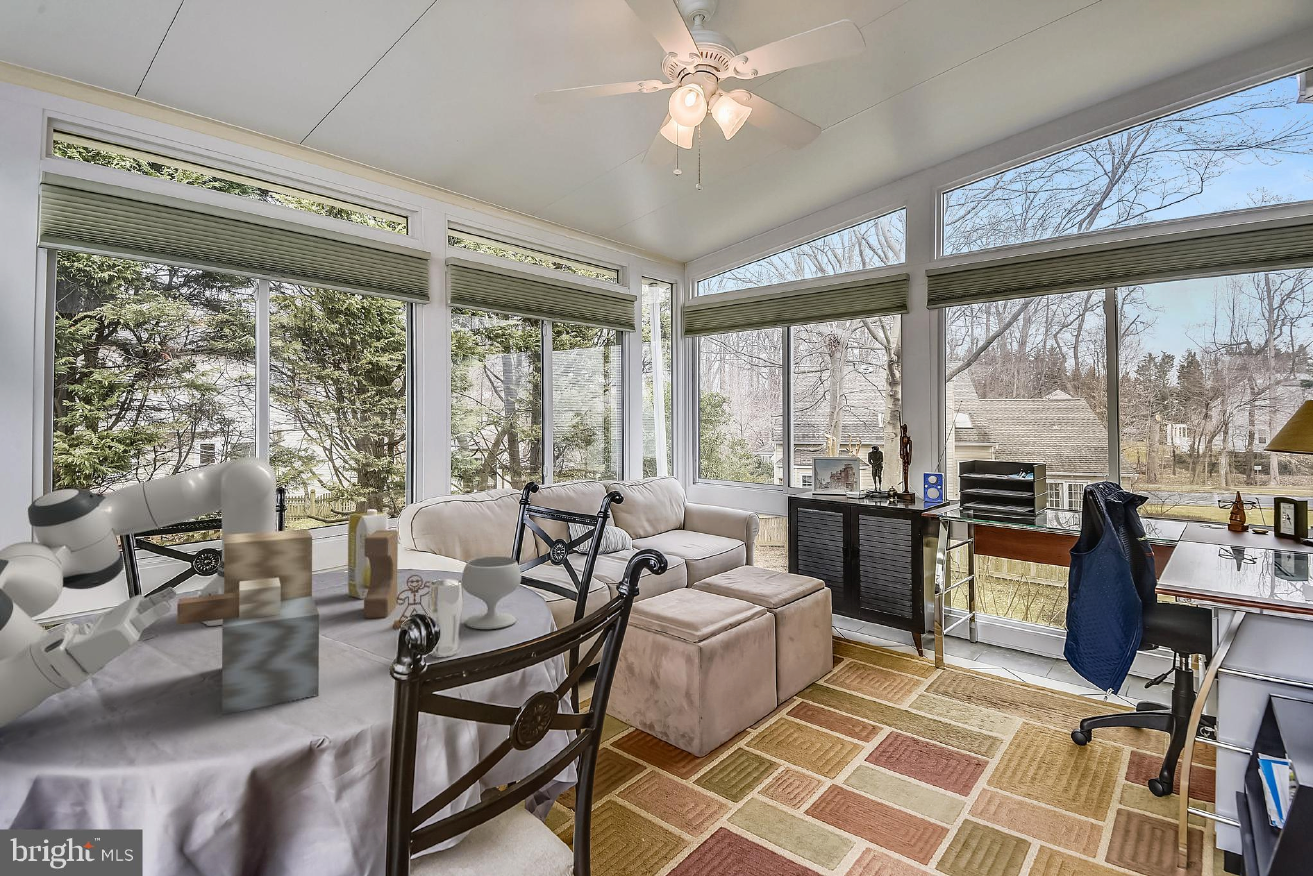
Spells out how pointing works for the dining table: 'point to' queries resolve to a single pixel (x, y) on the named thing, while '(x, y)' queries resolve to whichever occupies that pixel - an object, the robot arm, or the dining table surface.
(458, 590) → the beer glass
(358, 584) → the juice carton
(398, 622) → the gingerbread man figurine
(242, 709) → the step stand
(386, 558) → the decorative block
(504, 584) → the chalice
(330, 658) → the dining table surface
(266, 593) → the brown rectangular block
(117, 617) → the robot arm
